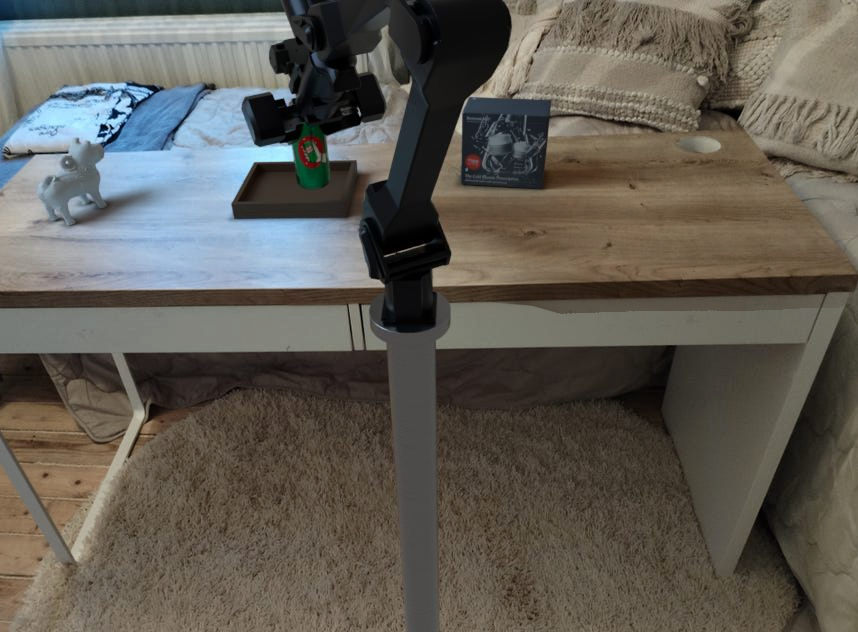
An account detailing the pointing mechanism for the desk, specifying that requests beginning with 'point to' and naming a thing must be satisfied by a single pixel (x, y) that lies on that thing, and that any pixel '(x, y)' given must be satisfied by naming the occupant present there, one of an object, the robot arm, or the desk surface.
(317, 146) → the soda can
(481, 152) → the small box
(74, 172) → the dog figurine
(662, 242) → the desk surface
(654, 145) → the desk surface
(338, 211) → the tray
